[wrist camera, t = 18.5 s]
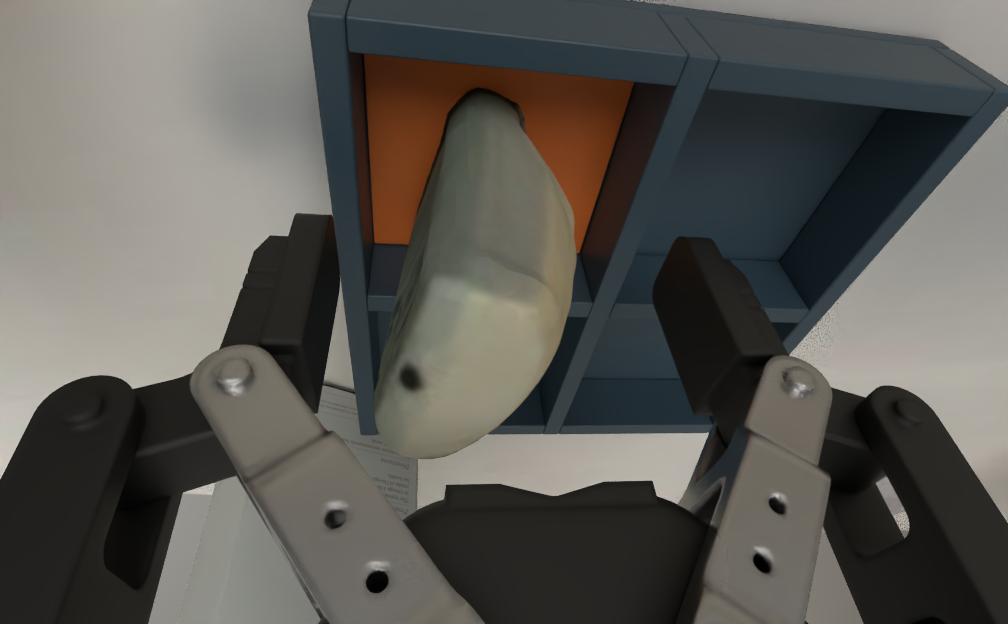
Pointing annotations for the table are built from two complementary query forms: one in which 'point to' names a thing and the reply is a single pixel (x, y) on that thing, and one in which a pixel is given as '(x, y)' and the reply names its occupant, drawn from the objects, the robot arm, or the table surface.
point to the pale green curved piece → (476, 285)
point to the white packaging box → (253, 552)
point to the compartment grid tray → (639, 165)
